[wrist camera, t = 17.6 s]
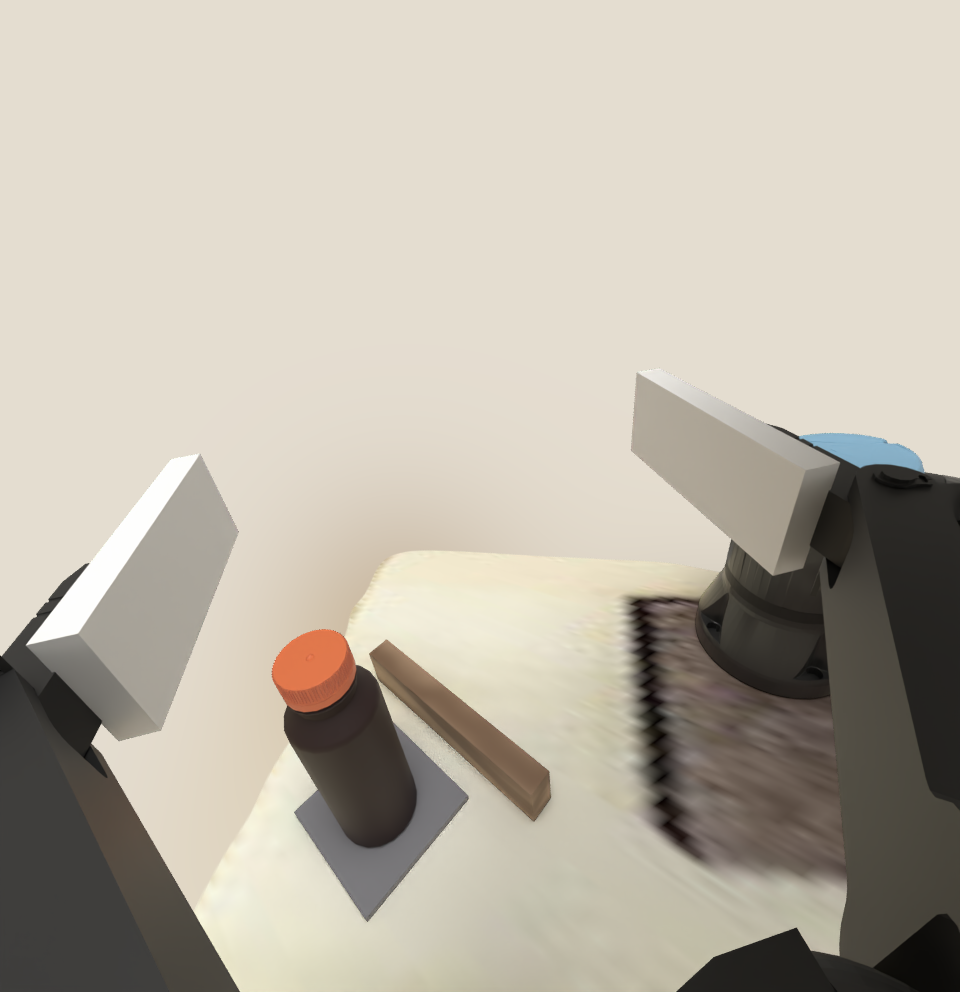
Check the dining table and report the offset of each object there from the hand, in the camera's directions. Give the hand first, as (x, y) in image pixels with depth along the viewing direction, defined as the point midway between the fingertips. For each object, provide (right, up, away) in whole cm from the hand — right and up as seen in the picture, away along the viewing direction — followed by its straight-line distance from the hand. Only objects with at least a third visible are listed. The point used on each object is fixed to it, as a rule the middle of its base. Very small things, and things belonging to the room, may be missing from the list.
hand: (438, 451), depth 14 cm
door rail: (-1, -25, +32) cm, 41 cm away
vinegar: (-8, -29, +27) cm, 40 cm away
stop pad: (-7, -29, +27) cm, 40 cm away
